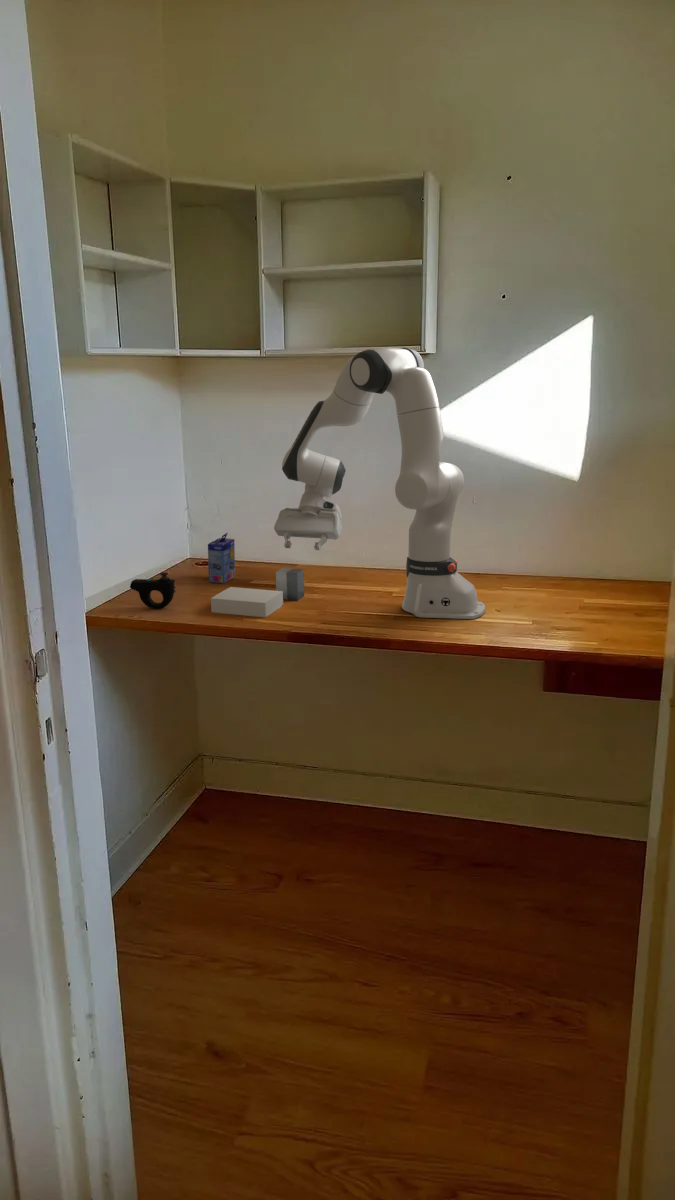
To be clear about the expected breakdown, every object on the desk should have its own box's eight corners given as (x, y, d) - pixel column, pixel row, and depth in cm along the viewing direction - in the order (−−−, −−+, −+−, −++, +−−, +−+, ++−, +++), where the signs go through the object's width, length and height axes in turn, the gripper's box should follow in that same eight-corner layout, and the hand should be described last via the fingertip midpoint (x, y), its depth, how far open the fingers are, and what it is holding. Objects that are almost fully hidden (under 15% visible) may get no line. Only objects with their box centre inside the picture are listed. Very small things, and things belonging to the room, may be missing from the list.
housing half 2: (304, 596, 244) (303, 569, 241) (297, 600, 239) (297, 573, 237) (293, 595, 245) (293, 568, 242) (287, 599, 240) (286, 572, 238)
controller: (174, 610, 231) (171, 575, 228) (130, 609, 232) (127, 574, 229) (178, 606, 235) (176, 571, 232) (135, 605, 236) (132, 570, 233)
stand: (283, 605, 235) (282, 591, 234) (265, 617, 224) (265, 602, 223) (230, 600, 240) (230, 586, 239) (211, 612, 229) (210, 598, 228)
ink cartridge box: (225, 583, 258) (223, 537, 254) (208, 583, 259) (205, 536, 255) (236, 576, 267) (234, 530, 263) (220, 575, 268) (217, 530, 264)
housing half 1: (293, 595, 245) (292, 568, 242) (287, 599, 240) (286, 572, 238) (283, 594, 246) (282, 567, 243) (276, 598, 241) (275, 571, 239)
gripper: (278, 501, 255) (266, 540, 248) (342, 505, 248) (331, 544, 242) (284, 513, 260) (272, 551, 254) (347, 517, 253) (336, 556, 247)
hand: (301, 548), depth 248 cm, fingers open, 8 cm apart
